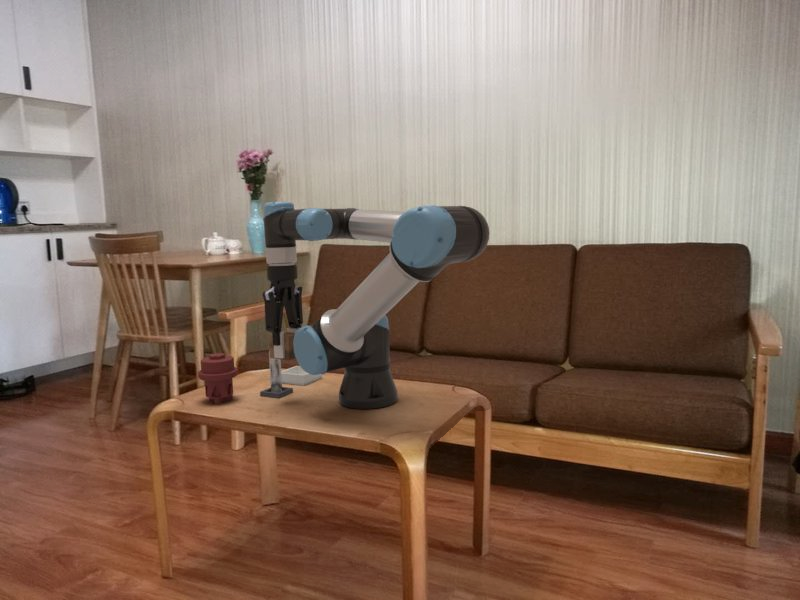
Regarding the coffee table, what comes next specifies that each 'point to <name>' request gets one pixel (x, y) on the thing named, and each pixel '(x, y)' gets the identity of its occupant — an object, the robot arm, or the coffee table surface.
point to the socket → (268, 393)
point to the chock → (287, 346)
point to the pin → (275, 374)
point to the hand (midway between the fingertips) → (286, 355)
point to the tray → (298, 376)
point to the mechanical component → (218, 376)
